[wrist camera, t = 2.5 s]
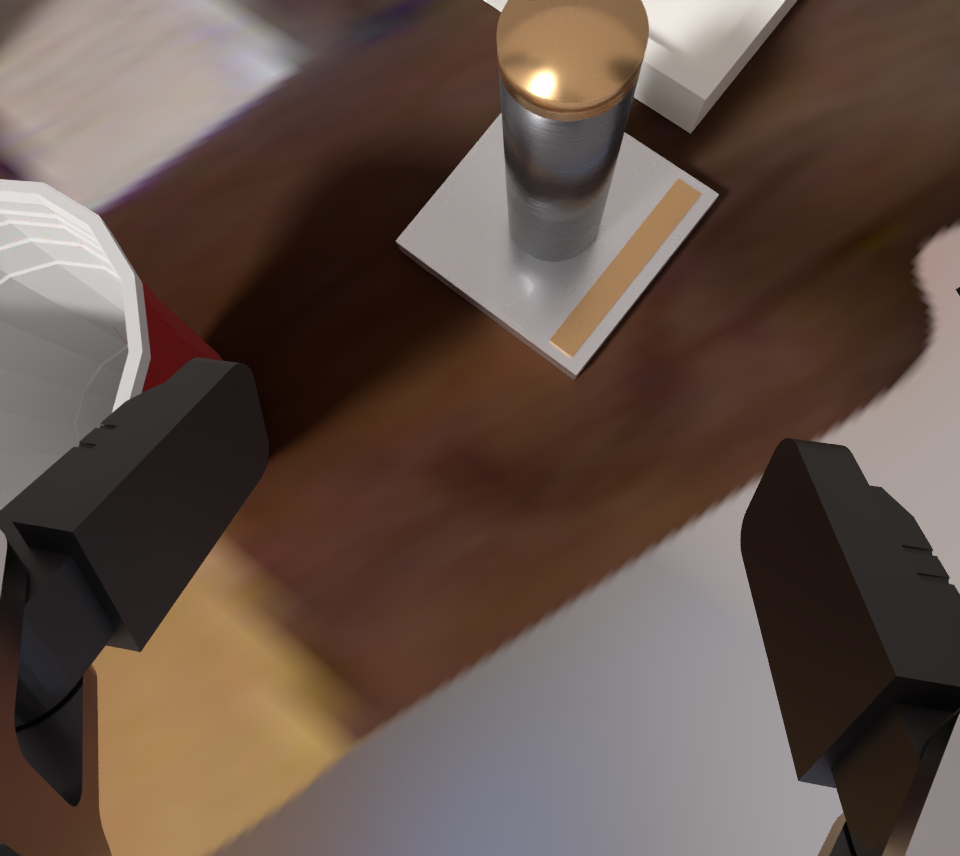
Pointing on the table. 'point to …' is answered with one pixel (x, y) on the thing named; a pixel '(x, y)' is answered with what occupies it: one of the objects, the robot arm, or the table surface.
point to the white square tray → (698, 51)
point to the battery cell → (565, 114)
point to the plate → (565, 284)
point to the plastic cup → (71, 330)
